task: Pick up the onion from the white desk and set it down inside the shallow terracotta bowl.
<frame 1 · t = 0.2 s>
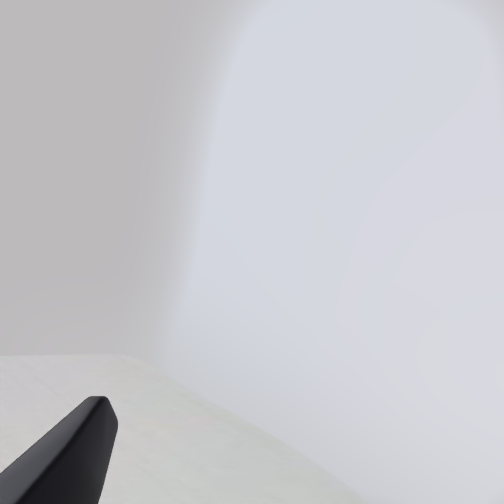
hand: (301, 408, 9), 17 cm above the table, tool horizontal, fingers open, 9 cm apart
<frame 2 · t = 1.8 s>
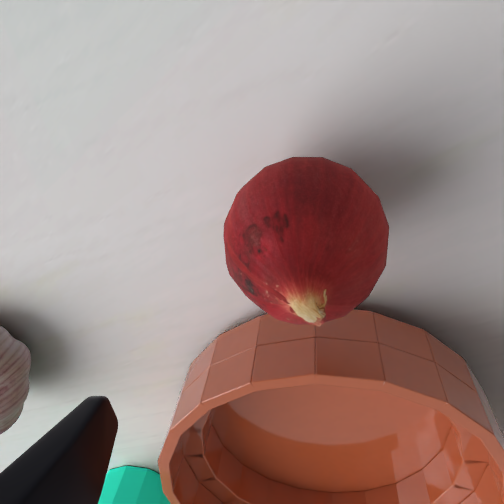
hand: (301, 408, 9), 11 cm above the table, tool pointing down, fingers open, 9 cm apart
onion: (306, 195, 19), on the table
candle: (142, 487, 33), on the table
terracotta bowl: (325, 415, 26), on the table
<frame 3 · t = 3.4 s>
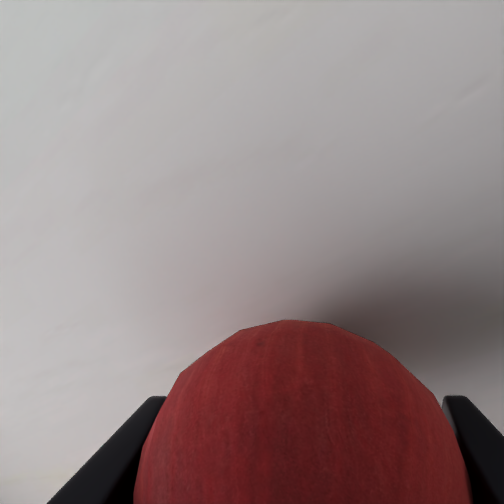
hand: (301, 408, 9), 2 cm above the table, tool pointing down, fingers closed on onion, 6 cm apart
onion: (302, 338, 11), on the table, touching gripper
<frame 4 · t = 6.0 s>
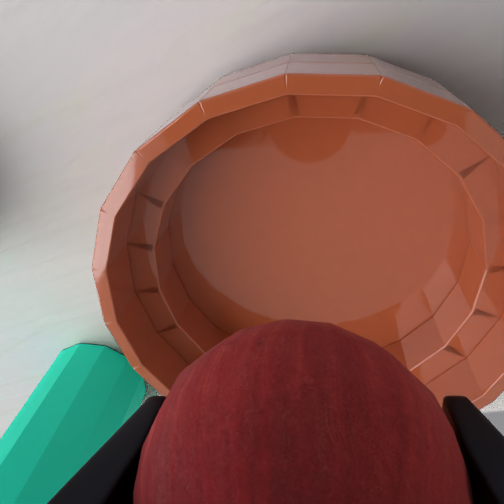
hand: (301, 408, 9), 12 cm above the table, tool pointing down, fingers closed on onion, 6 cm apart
onion: (302, 338, 11), point 10 cm above the table, touching gripper
candle: (101, 376, 28), on the table
terracotta bowl: (312, 246, 21), on the table
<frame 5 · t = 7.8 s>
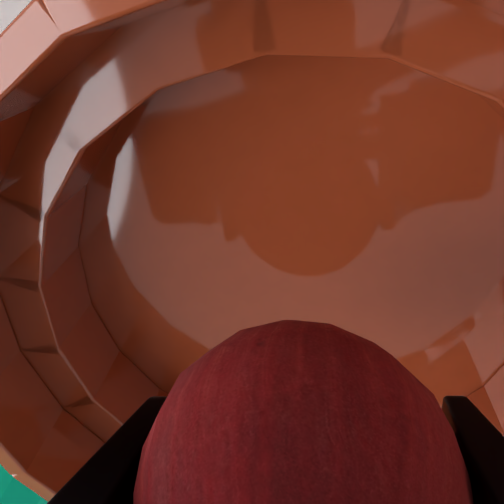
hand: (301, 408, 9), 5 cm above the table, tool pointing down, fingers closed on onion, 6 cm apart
onion: (302, 338, 11), point 3 cm above the table, touching gripper
candle: (16, 441, 21), on the table
terracotta bowl: (301, 280, 14), on the table
when the fingers open (3 cm above the table, at t = 9.0 s): onion stays where it is, resting on terracotta bowl.
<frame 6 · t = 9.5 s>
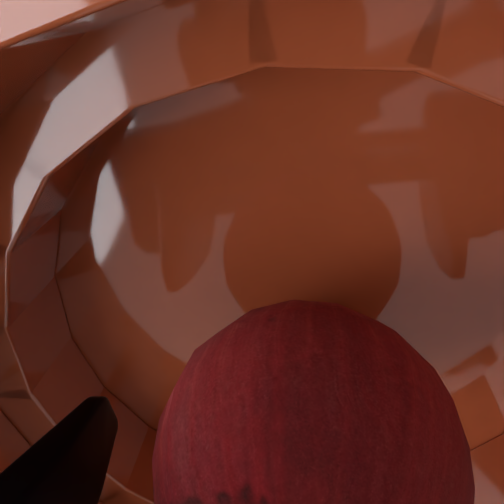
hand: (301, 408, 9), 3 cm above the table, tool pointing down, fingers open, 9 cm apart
onion: (308, 322, 12), resting on terracotta bowl
terracotta bowl: (305, 314, 12), on the table
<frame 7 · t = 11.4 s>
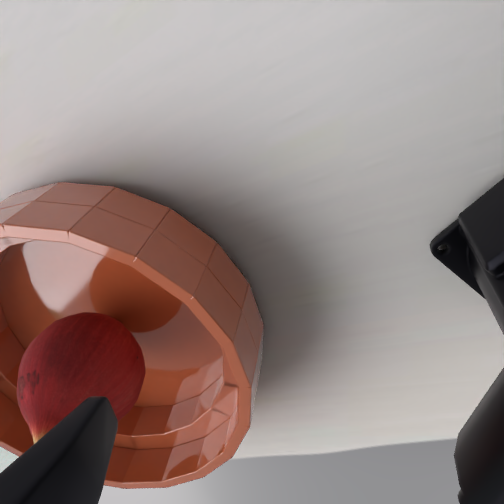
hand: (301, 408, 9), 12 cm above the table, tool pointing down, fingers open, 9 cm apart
onion: (116, 321, 25), resting on terracotta bowl
terracotta bowl: (117, 317, 25), on the table
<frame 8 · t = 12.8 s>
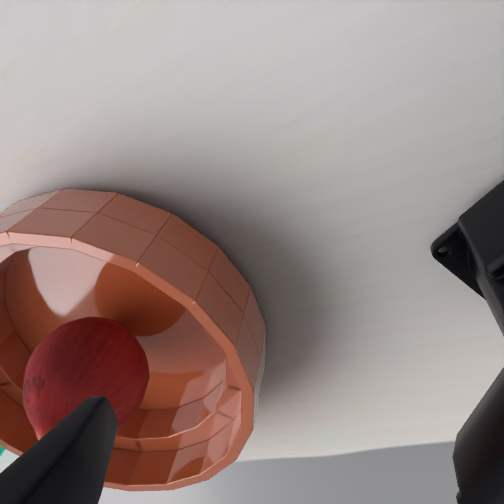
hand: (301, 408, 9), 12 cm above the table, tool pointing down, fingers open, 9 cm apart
onion: (120, 326, 25), resting on terracotta bowl
terracotta bowl: (122, 321, 26), on the table
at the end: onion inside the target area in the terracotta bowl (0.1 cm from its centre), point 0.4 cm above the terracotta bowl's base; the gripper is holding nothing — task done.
